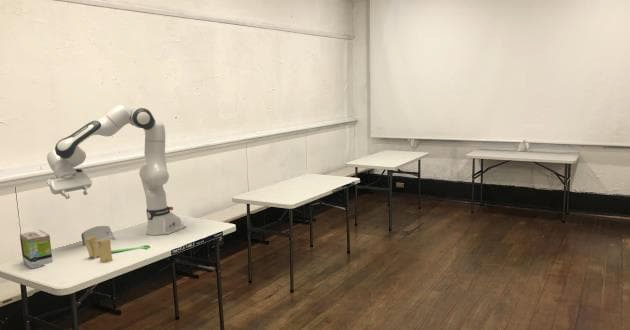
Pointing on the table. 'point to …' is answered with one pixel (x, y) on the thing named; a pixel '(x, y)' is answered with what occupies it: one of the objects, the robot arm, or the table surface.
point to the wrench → (131, 248)
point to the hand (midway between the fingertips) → (77, 196)
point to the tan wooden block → (105, 250)
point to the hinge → (98, 233)
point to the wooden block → (92, 246)
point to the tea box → (36, 248)
